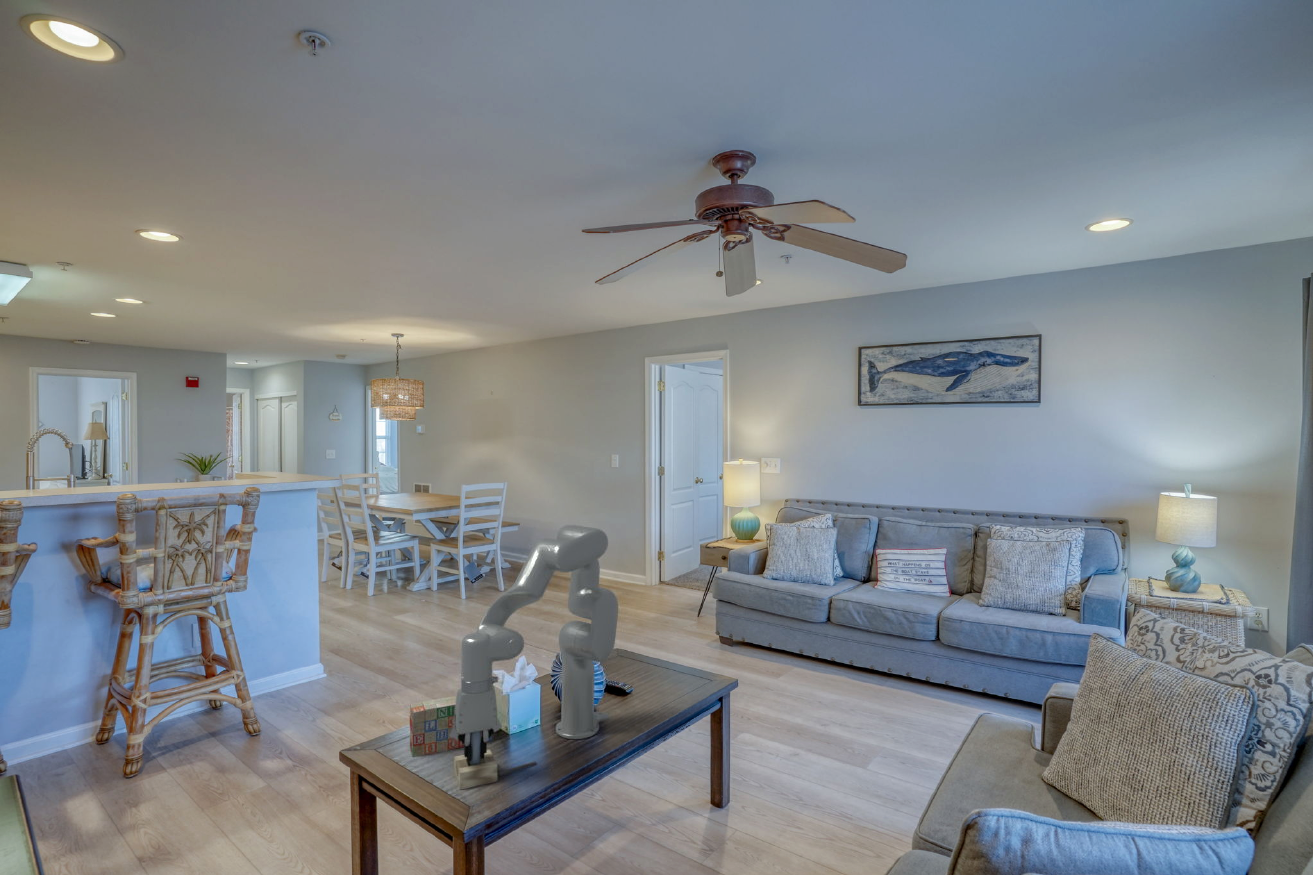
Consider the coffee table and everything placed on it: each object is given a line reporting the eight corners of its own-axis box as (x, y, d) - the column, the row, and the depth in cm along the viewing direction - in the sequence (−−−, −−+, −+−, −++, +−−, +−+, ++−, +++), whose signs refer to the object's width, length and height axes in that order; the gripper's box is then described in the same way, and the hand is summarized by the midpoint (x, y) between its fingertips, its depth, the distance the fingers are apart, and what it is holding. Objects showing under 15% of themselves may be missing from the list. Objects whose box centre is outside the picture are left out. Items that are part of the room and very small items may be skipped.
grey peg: (479, 770, 161) (480, 722, 162) (481, 774, 159) (482, 726, 159) (468, 772, 160) (469, 724, 160) (470, 777, 158) (471, 728, 158)
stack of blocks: (487, 732, 185) (488, 689, 185) (492, 741, 179) (493, 697, 179) (409, 747, 175) (409, 703, 175) (411, 758, 169) (412, 711, 169)
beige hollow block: (489, 764, 166) (489, 749, 166) (497, 781, 158) (497, 765, 158) (453, 772, 162) (454, 756, 162) (459, 789, 154) (460, 773, 154)
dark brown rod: (534, 763, 167) (534, 761, 167) (536, 764, 166) (536, 762, 166) (498, 774, 161) (498, 772, 161) (499, 775, 160) (499, 773, 160)
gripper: (505, 674, 167) (504, 745, 167) (440, 684, 160) (439, 757, 160) (512, 684, 160) (510, 757, 160) (445, 694, 153) (443, 771, 153)
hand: (475, 757), depth 160 cm, fingers closed on grey peg, 2 cm apart
